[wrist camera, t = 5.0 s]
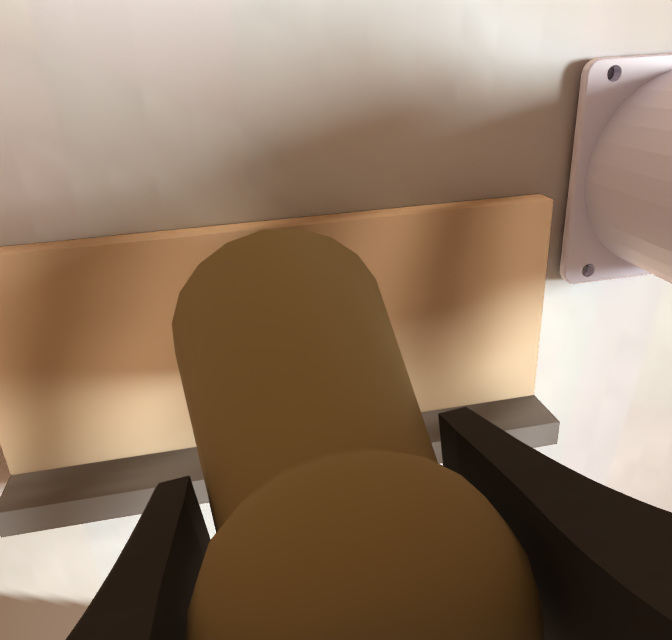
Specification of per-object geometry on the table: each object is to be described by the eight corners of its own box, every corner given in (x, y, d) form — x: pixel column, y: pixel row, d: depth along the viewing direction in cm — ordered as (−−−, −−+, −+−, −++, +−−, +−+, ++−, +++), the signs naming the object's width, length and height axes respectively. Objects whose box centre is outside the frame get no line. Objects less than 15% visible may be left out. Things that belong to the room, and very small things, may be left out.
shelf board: (539, 193, 22) (585, 213, 19) (520, 405, 26) (556, 445, 23) (-50, 251, 19) (-92, 284, 16) (26, 482, 23) (1, 539, 20)
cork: (138, 383, 17) (72, 878, 7) (225, 190, 15) (291, 523, 5) (325, 437, 19) (460, 866, 10) (421, 277, 17) (710, 617, 8)
